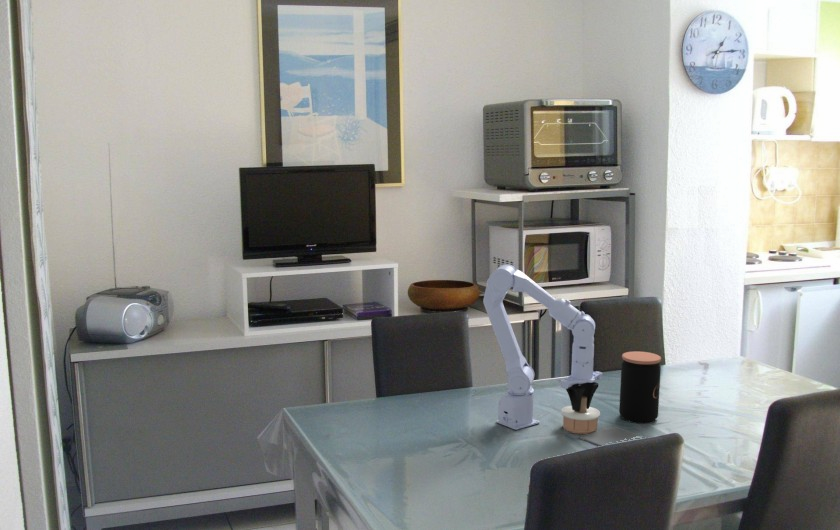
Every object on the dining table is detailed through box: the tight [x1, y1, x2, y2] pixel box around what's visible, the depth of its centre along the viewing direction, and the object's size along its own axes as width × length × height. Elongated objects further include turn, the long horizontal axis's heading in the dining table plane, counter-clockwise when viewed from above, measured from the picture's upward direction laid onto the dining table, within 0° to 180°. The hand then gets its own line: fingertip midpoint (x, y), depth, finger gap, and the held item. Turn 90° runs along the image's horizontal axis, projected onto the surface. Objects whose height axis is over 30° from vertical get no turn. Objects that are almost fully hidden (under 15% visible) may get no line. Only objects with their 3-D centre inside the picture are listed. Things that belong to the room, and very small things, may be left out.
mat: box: [578, 425, 645, 447], centre depth 224 cm, size 14×11×1 cm
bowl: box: [562, 415, 599, 435], centre depth 231 cm, size 9×9×4 cm
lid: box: [560, 396, 601, 421], centre depth 231 cm, size 10×10×5 cm
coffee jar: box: [618, 350, 662, 424], centre depth 239 cm, size 11×11×18 cm
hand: (580, 409), depth 231 cm, fingers closed on lid, 3 cm apart
